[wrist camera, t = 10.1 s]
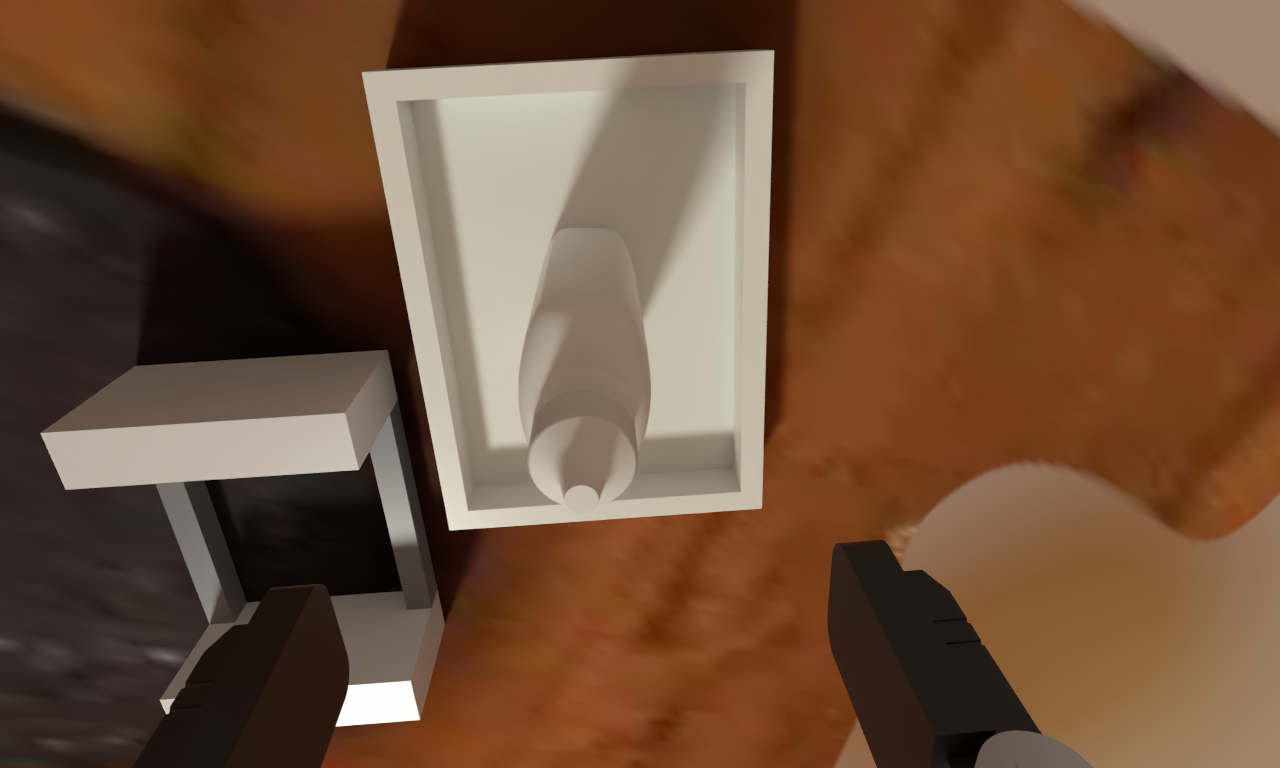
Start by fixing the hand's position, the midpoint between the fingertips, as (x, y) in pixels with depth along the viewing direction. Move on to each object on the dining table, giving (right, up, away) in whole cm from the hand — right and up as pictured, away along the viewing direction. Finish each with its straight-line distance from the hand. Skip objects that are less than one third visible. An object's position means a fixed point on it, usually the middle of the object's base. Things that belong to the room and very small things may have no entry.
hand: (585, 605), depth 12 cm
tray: (-1, +7, +15) cm, 16 cm away
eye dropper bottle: (-1, +6, +14) cm, 15 cm away
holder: (-12, -1, +18) cm, 22 cm away
